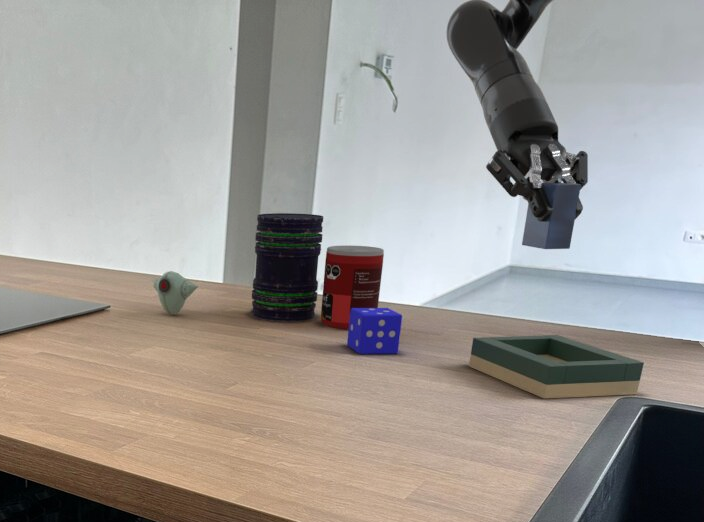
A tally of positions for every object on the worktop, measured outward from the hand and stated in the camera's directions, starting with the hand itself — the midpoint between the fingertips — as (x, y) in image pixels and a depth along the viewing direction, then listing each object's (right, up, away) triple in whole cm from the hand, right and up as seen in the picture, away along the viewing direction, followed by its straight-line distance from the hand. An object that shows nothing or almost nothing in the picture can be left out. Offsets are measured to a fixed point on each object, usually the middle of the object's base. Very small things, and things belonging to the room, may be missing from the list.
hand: (560, 216), depth 110 cm
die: (-24, -17, +1) cm, 29 cm away
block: (0, -3, +3) cm, 5 cm away
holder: (-8, -22, -13) cm, 27 cm away
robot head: (-48, -9, +23) cm, 54 cm away
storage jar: (-31, -9, +23) cm, 40 cm away
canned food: (-23, -12, +17) cm, 30 cm away
